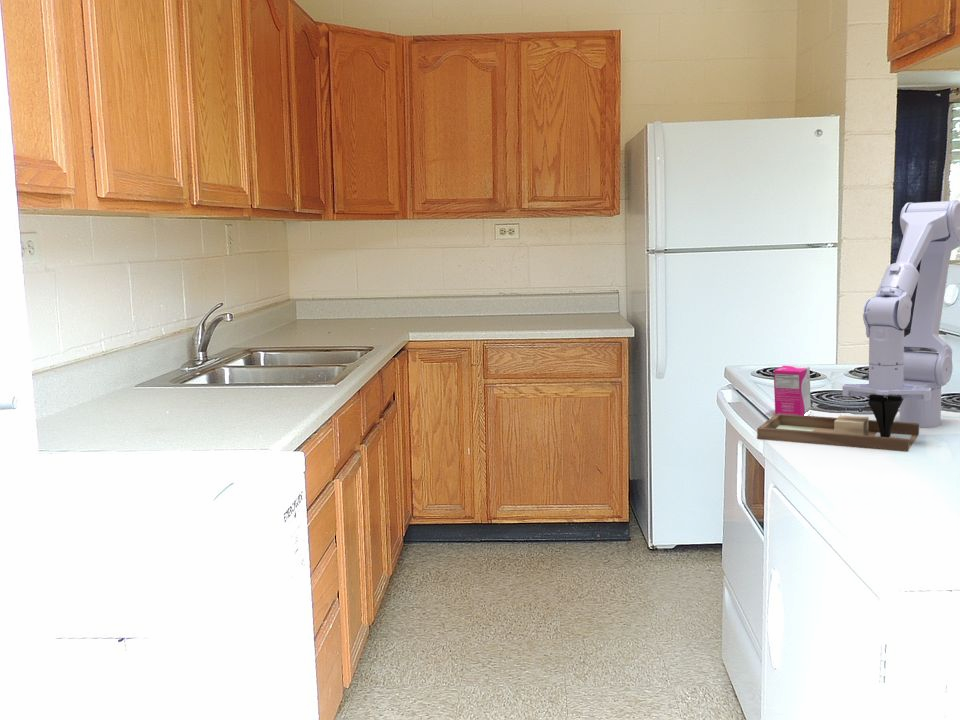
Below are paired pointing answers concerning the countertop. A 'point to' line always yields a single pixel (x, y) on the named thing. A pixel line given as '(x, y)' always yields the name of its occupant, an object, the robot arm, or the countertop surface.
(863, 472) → the countertop surface
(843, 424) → the birch block
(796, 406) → the supplement box
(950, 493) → the countertop surface
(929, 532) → the countertop surface
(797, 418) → the compartment tray
